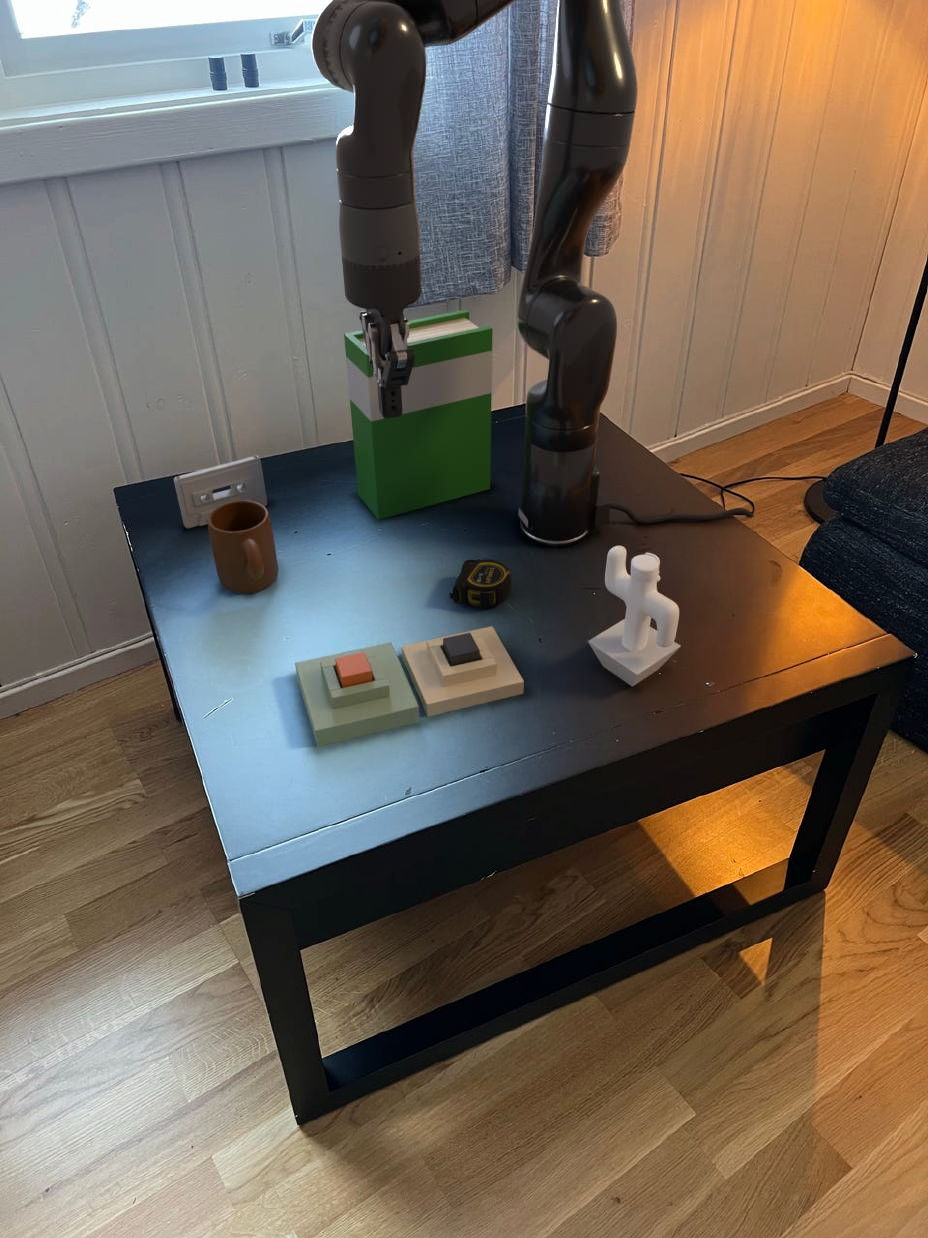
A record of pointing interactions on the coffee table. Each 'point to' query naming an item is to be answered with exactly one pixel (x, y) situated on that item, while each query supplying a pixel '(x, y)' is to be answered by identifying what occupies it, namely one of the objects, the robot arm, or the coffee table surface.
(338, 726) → the green stepped square block
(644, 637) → the figurine
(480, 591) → the tape measure
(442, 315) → the hardback book
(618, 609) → the coffee table surface
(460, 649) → the key
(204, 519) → the cassette
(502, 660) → the beige push button
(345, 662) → the key
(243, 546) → the mug
